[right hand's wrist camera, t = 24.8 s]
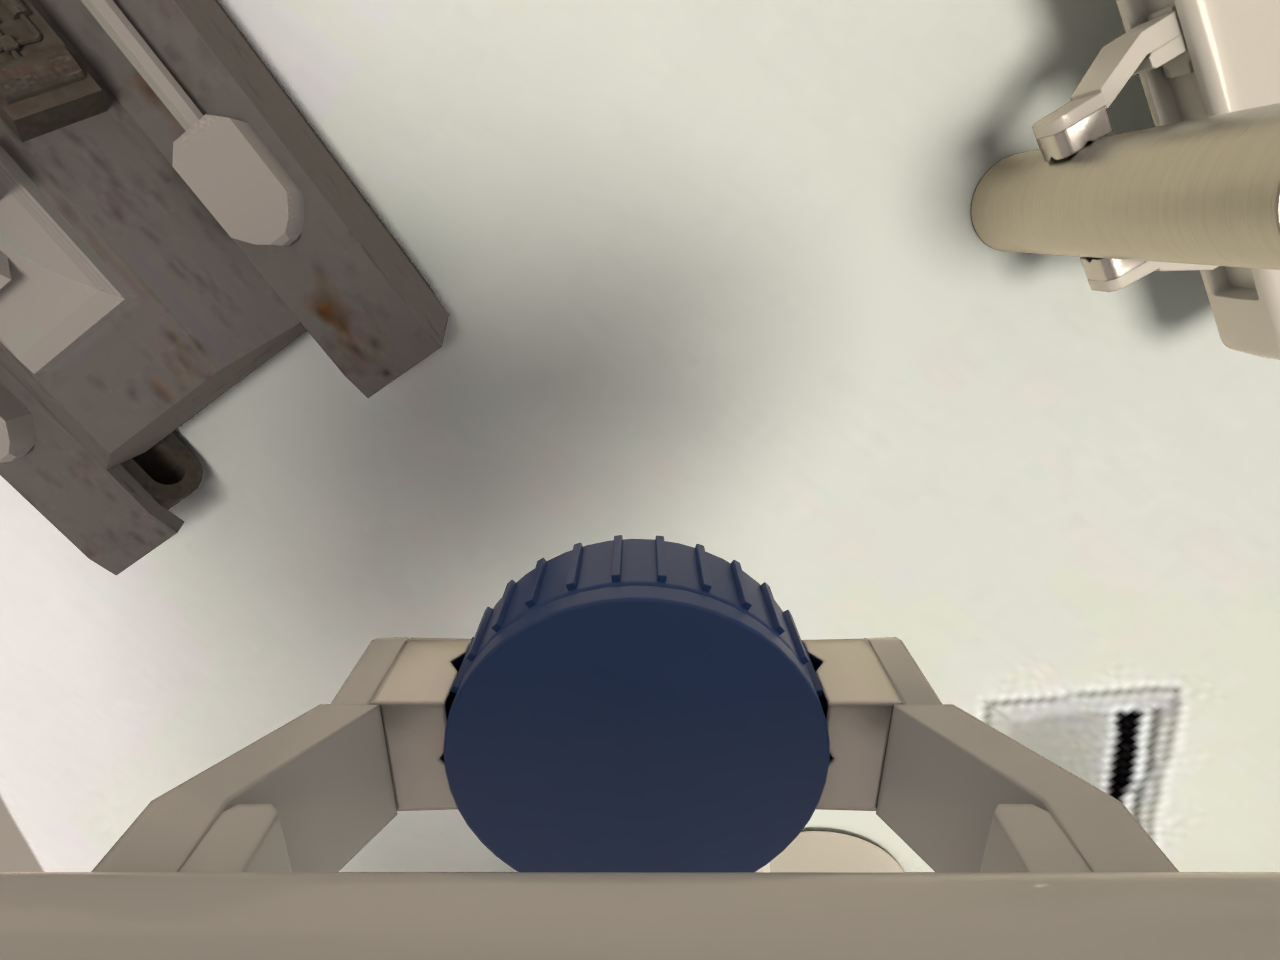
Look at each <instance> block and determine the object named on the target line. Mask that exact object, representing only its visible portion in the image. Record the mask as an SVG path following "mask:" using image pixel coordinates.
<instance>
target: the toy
mask: <svg viewBox="0 0 1280 960" xmlns="http://www.w3.org/2000/svg"><path fill="white" fill-rule="evenodd" d="M447 319H448V313H447V312H446V310H445V309H444V307H443V306H442V305H441V303H440V302H439V301H438V299H437V298H436V297H435V294H434V292H433V291H432V289H431V288H430V286H429V285H428V283H427V282H426V281H425V279H424V278H423V277H422V275H421V274H420V273H419V271H418V270H417V269H416V267H415V266H414V265H413V263H412V262H411V261H410V259H409V258H408V257H407V255H406V254H405V252H404V251H403V250H402V248H401V247H400V246H399V244H398V243H397V242H396V240H395V239H394V238H393V236H392V235H391V234H390V232H389V231H388V230H387V228H386V227H385V226H384V224H383V223H382V222H381V220H380V219H379V218H378V216H377V215H376V214H375V212H374V211H373V210H372V208H371V207H370V206H369V204H368V203H367V202H366V200H365V199H364V197H363V196H362V195H361V193H360V192H359V191H358V189H357V188H356V187H355V185H354V184H353V183H352V181H351V180H350V179H349V177H348V176H347V175H346V173H345V172H344V171H343V169H342V168H341V167H340V165H339V164H338V163H337V161H336V160H335V159H334V157H333V156H332V155H331V153H330V152H329V151H328V149H327V148H326V147H325V145H324V144H323V142H322V141H321V140H320V138H319V137H318V136H317V134H316V133H315V132H314V130H313V129H312V128H311V126H310V125H309V124H308V122H307V121H306V120H305V118H304V117H303V116H302V114H301V113H300V112H299V110H298V109H297V108H296V106H295V105H294V104H293V102H292V101H291V100H290V98H289V97H288V96H287V94H286V93H285V92H284V90H283V89H282V87H281V86H280V85H279V83H278V82H277V81H276V79H275V78H274V77H273V75H272V74H271V73H270V71H269V70H268V69H267V67H266V66H265V65H264V63H263V62H262V61H261V59H260V58H259V57H258V55H257V54H256V53H255V51H254V50H253V49H252V47H251V46H250V45H249V43H248V42H247V41H246V39H245V38H244V37H243V35H242V34H241V32H240V31H239V30H238V28H237V27H236V26H235V24H234V23H233V22H232V20H231V19H230V18H229V16H228V15H227V14H226V12H225V11H224V10H223V8H222V7H221V6H220V4H219V3H218V2H217V0H0V475H1V476H2V477H3V478H4V479H5V480H6V481H7V482H8V483H9V484H11V485H12V486H13V487H14V488H15V489H16V490H17V491H18V492H19V493H20V494H21V495H22V496H23V497H24V498H25V499H26V500H27V501H29V502H30V503H31V504H32V505H33V506H34V507H35V508H36V509H37V510H38V511H39V512H40V513H41V514H42V515H43V516H44V517H45V518H47V519H48V520H49V521H50V522H51V523H52V524H53V525H54V526H55V527H56V528H57V529H58V530H59V531H60V532H61V533H62V534H64V535H65V536H66V537H67V538H68V539H69V540H70V541H71V542H72V543H73V544H74V545H75V546H76V547H77V548H78V549H79V550H81V551H82V552H83V553H84V554H85V555H86V556H87V557H88V558H89V559H91V560H92V561H94V562H95V563H97V564H99V565H100V566H102V567H104V568H105V569H107V570H108V571H110V572H112V573H113V574H115V575H118V574H119V573H120V572H122V571H123V570H125V569H126V568H128V567H129V566H130V565H132V564H133V563H135V562H136V561H138V560H139V559H140V558H142V557H143V556H145V555H146V554H148V553H149V552H150V551H152V550H153V549H155V548H156V547H158V546H159V545H160V544H162V543H163V542H165V541H166V540H168V539H169V538H170V537H172V536H173V535H175V534H176V533H177V532H178V531H179V529H180V528H181V526H182V525H183V523H184V521H183V520H181V519H180V518H178V517H177V516H175V515H174V514H173V513H171V512H170V511H168V510H169V509H170V508H171V507H173V506H174V505H176V504H177V503H178V502H180V501H181V500H182V499H184V498H185V497H187V496H188V495H189V494H191V493H192V492H193V491H194V490H195V489H197V487H198V486H199V484H200V482H201V480H202V468H201V464H200V463H199V461H198V460H197V458H196V457H195V455H194V454H193V453H192V452H191V451H190V450H189V449H188V448H187V447H186V446H185V445H184V444H183V443H182V442H181V441H180V440H179V439H178V438H177V436H176V435H175V434H174V433H173V431H174V430H175V429H177V428H178V427H179V426H181V425H182V424H183V423H185V422H186V421H187V420H189V419H190V418H191V417H193V416H194V415H195V414H196V413H198V412H199V411H200V410H202V409H203V408H204V407H206V406H207V405H208V404H210V403H211V402H212V401H214V400H215V399H216V398H218V397H219V396H220V395H222V394H223V393H224V392H226V391H227V390H228V389H230V388H231V387H232V386H234V385H235V384H236V383H238V382H239V381H240V380H242V379H243V378H244V377H245V376H247V375H248V374H249V373H251V372H252V371H253V370H255V369H256V368H257V367H259V366H260V365H261V364H263V363H264V362H265V361H267V360H268V359H269V358H271V357H272V356H273V355H275V354H276V353H277V352H279V351H280V350H281V349H283V348H284V347H285V346H287V345H288V344H289V343H291V342H292V341H293V340H294V339H296V338H297V337H298V336H300V335H301V334H302V333H304V332H305V331H306V330H308V332H309V333H310V334H311V335H312V337H313V338H314V339H315V340H316V341H317V343H318V344H319V345H320V346H321V347H322V349H323V350H324V351H325V352H326V353H327V355H328V356H329V357H330V358H331V359H332V361H333V362H334V363H335V364H336V366H337V367H338V368H339V369H340V370H341V372H342V373H343V374H344V375H345V376H346V377H347V378H348V379H349V380H350V381H351V382H352V383H353V384H354V385H355V386H356V387H357V388H358V389H359V390H360V391H361V392H362V393H363V394H364V395H365V396H366V397H368V398H369V397H370V396H372V395H373V394H375V393H376V392H378V391H379V390H380V389H382V388H383V387H385V386H386V385H388V384H389V383H390V382H392V381H393V380H395V379H396V378H397V377H399V376H400V375H402V374H403V373H405V372H406V371H407V370H409V369H410V368H412V367H413V366H415V365H416V364H417V363H419V362H420V361H422V360H423V359H425V358H426V357H427V356H429V355H430V354H432V353H433V352H435V351H436V350H437V349H439V348H440V347H442V343H443V338H444V334H445V329H446V324H447Z"/></svg>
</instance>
